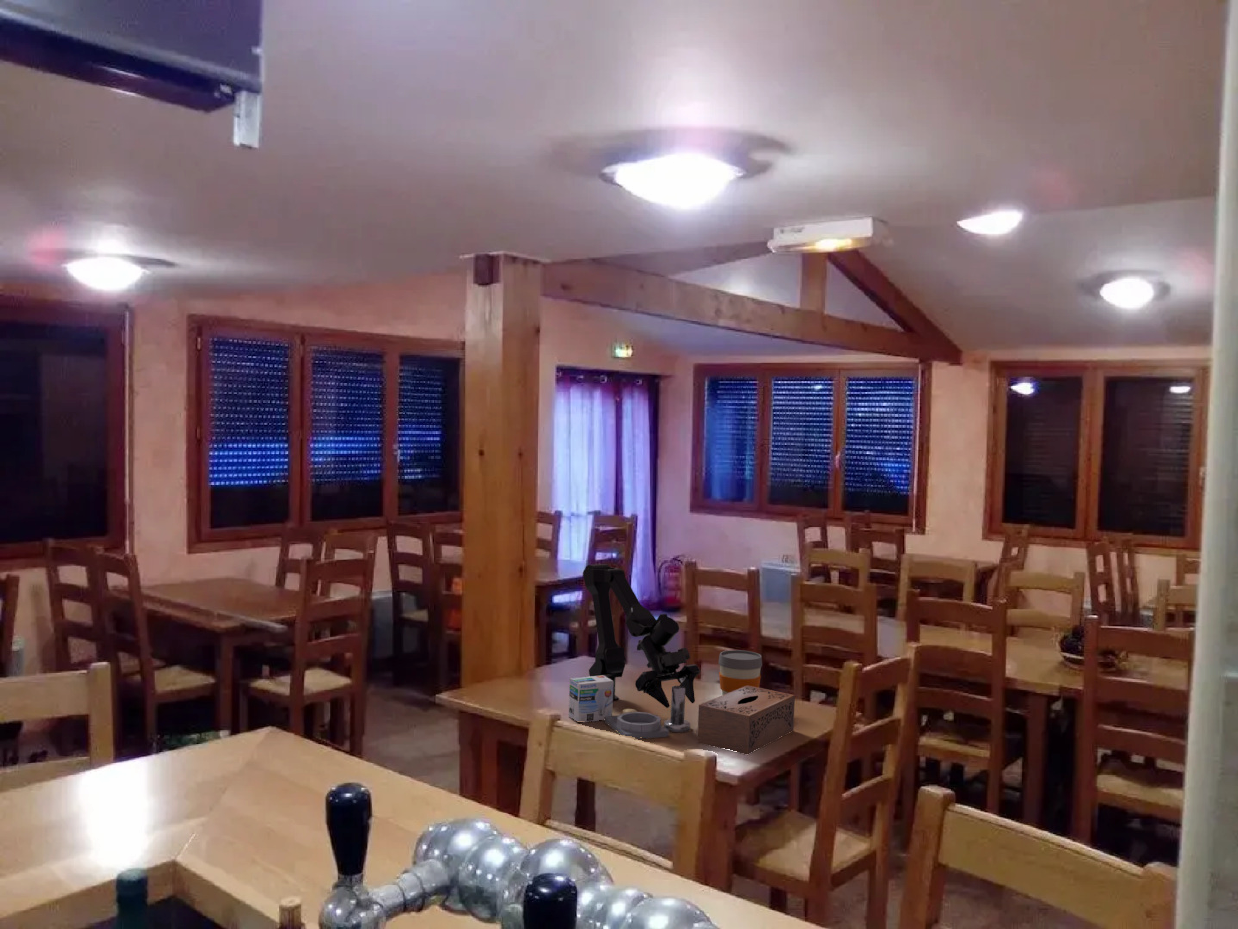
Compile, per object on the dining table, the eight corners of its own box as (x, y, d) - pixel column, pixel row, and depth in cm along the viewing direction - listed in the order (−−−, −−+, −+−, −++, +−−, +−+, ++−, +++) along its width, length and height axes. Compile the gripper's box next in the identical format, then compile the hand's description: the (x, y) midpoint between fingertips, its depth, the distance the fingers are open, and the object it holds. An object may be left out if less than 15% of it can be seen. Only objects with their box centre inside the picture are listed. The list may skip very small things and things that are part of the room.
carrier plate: (604, 722, 272) (604, 709, 272) (645, 718, 276) (646, 706, 276) (625, 740, 257) (625, 726, 257) (668, 736, 261) (669, 723, 261)
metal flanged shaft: (659, 725, 271) (661, 685, 270) (683, 723, 273) (685, 683, 273) (670, 733, 264) (671, 691, 264) (694, 731, 267) (696, 690, 266)
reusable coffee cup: (708, 705, 292) (710, 654, 291) (734, 697, 301) (735, 648, 300) (743, 715, 283) (745, 662, 282) (769, 706, 292) (771, 655, 292)
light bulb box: (577, 723, 270) (579, 684, 270) (567, 717, 276) (568, 678, 276) (613, 719, 275) (614, 680, 275) (602, 712, 281) (603, 674, 280)
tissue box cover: (745, 721, 278) (747, 685, 278) (793, 732, 270) (794, 695, 270) (697, 743, 257) (698, 705, 257) (747, 756, 249) (749, 716, 249)
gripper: (643, 642, 265) (668, 693, 257) (697, 635, 277) (722, 684, 268) (624, 665, 272) (648, 716, 264) (677, 657, 283) (702, 706, 275)
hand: (681, 704), depth 267 cm, fingers open, 8 cm apart
